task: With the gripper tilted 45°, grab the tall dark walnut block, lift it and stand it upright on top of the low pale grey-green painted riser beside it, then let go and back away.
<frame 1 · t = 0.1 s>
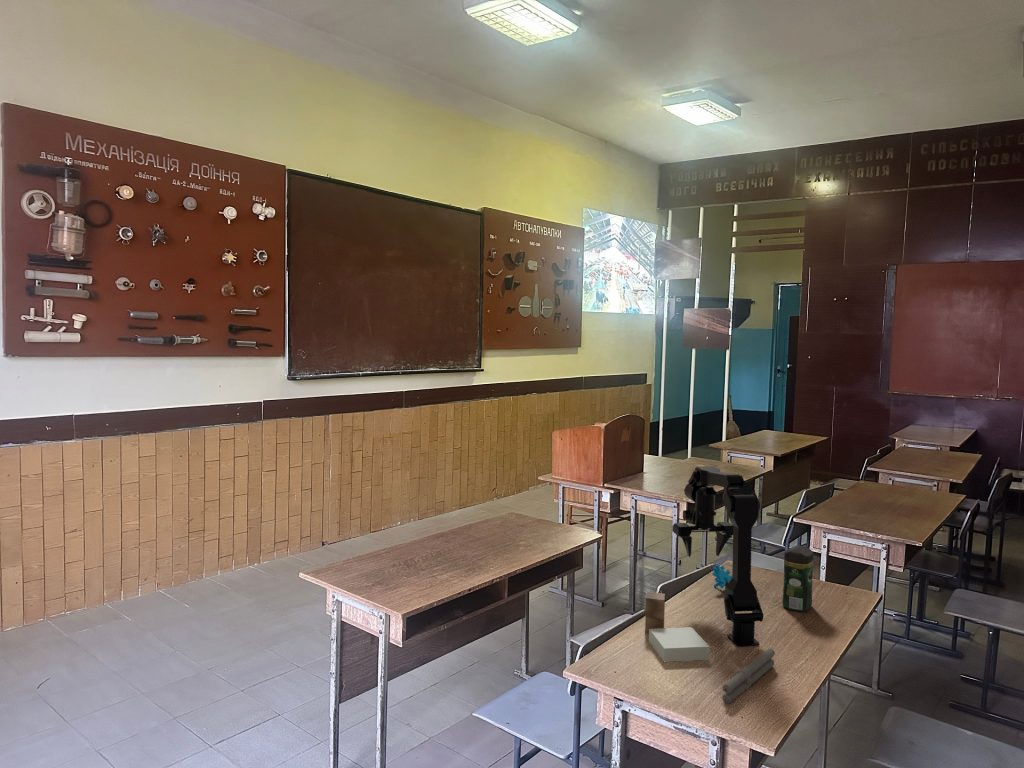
hand: (703, 556, 217), 15 cm above the table, tool pointing down, fingers open, 9 cm apart
gear: (725, 590, 229), on the table
walnut block: (654, 630, 196), on the table
coffee jar: (796, 607, 216), on the table
metal rod assembly: (749, 685, 167), on the table
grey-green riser: (678, 652, 184), on the table
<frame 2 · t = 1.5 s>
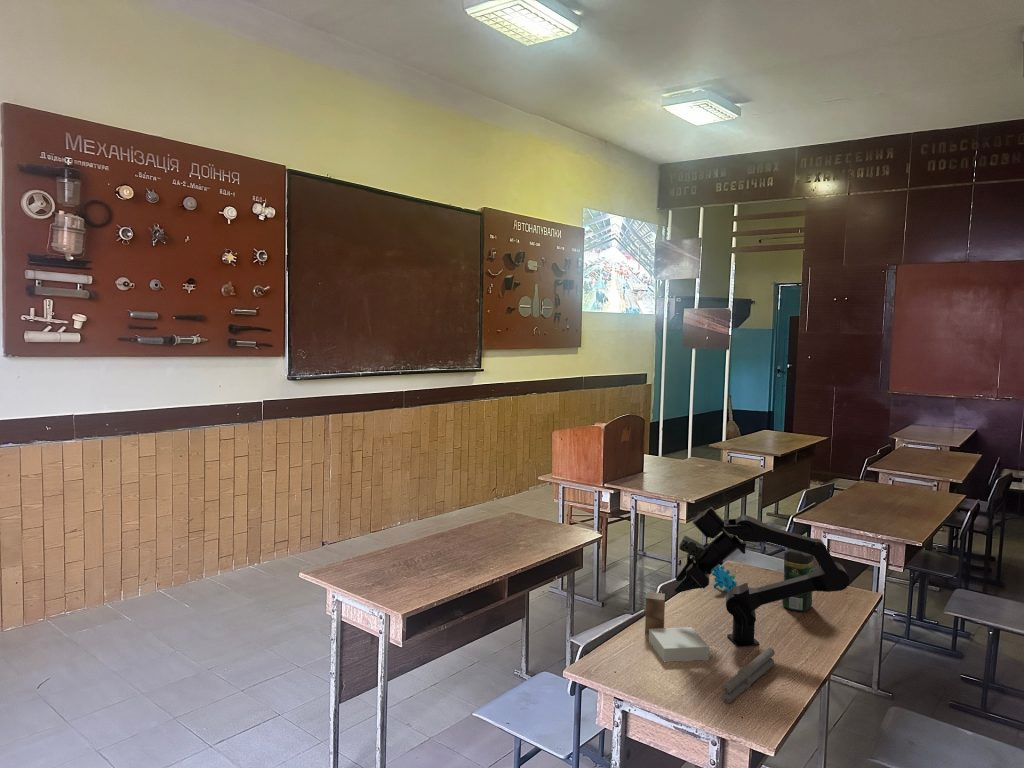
hand: (676, 585, 194), 13 cm above the table, tool tilted 45°, fingers open, 9 cm apart
nothing on the table moved.
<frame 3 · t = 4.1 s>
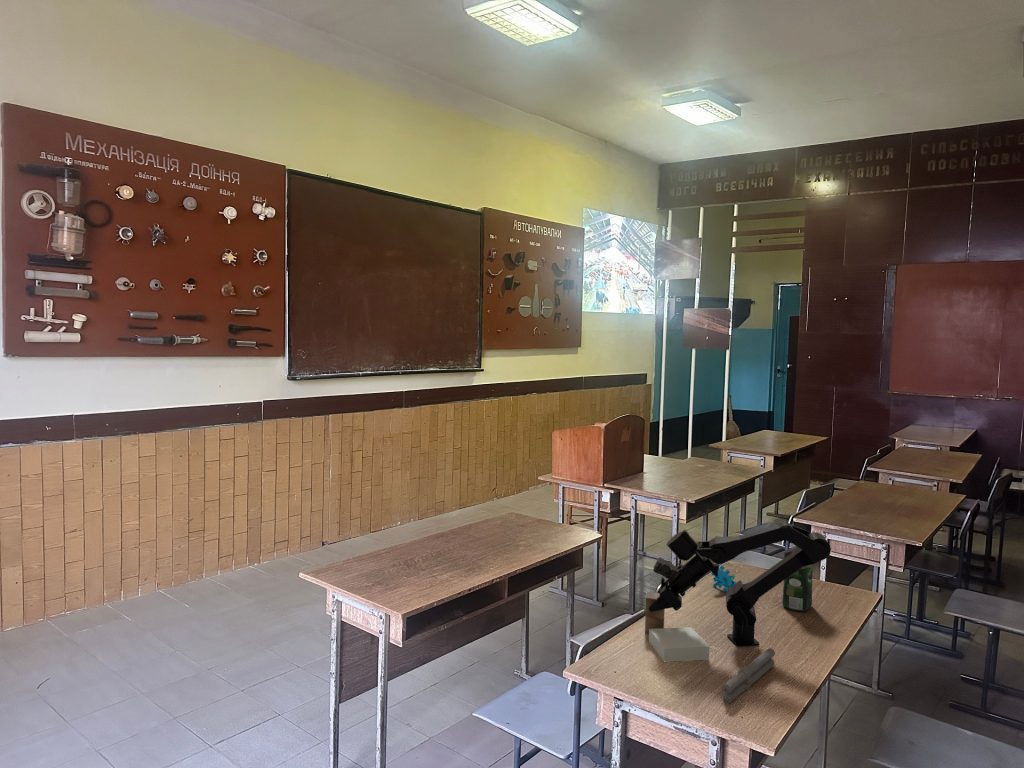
hand: (650, 606, 196), 7 cm above the table, tool tilted 45°, fingers closed on walnut block, 5 cm apart
walnut block: (654, 630, 196), on the table, touching gripper
everything else where it was.
when the fingers open (11 cm above the table, at t = 7.1 s): walnut block drops 1 cm, resting on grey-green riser.
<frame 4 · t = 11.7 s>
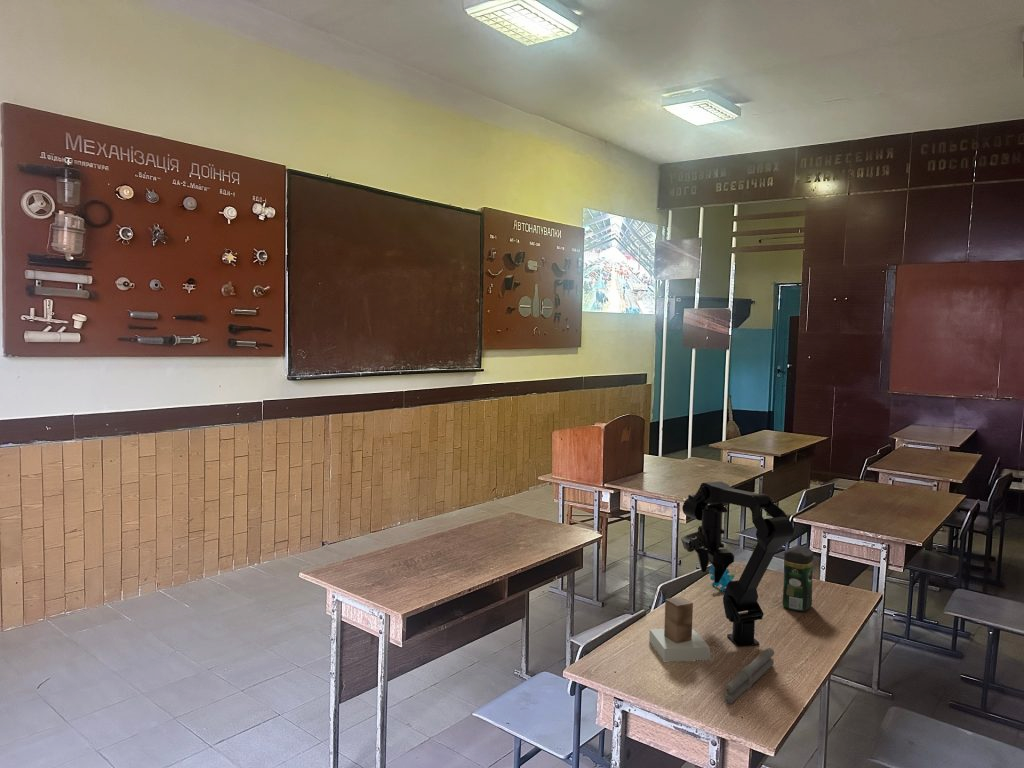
hand: (709, 577, 203), 13 cm above the table, tool pointing down, fingers open, 9 cm apart
walnut block: (677, 638, 183), point 3 cm above the table, touching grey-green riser
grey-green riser: (678, 652, 184), on the table, touching walnut block
at the end: walnut block inside the target area on the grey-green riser (0.4 cm from its centre), point 4.0 cm above the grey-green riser's base; walnut block tilted 1°; the gripper is holding nothing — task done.
